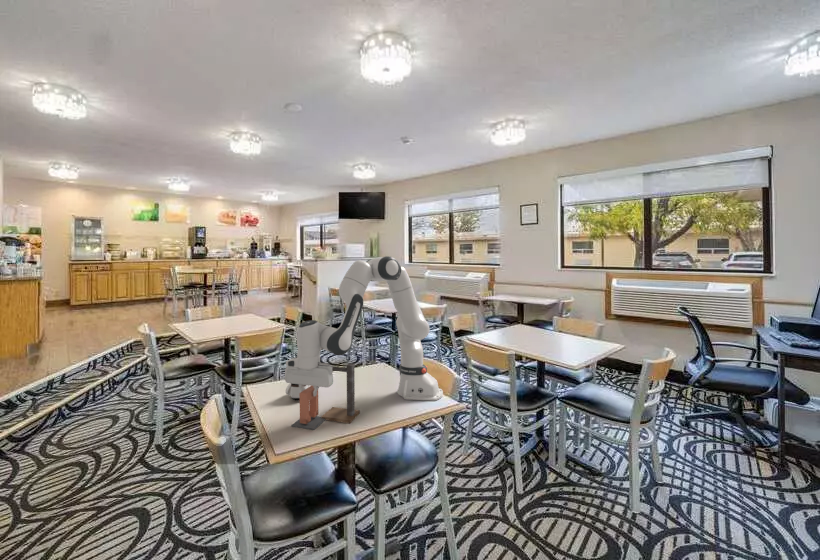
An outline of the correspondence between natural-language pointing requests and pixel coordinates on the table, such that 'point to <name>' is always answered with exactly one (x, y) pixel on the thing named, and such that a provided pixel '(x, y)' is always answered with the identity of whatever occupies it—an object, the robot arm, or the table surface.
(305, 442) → the table surface
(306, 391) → the link
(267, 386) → the table surface
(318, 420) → the coaster
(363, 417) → the table surface
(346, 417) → the stand
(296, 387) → the spread jar
